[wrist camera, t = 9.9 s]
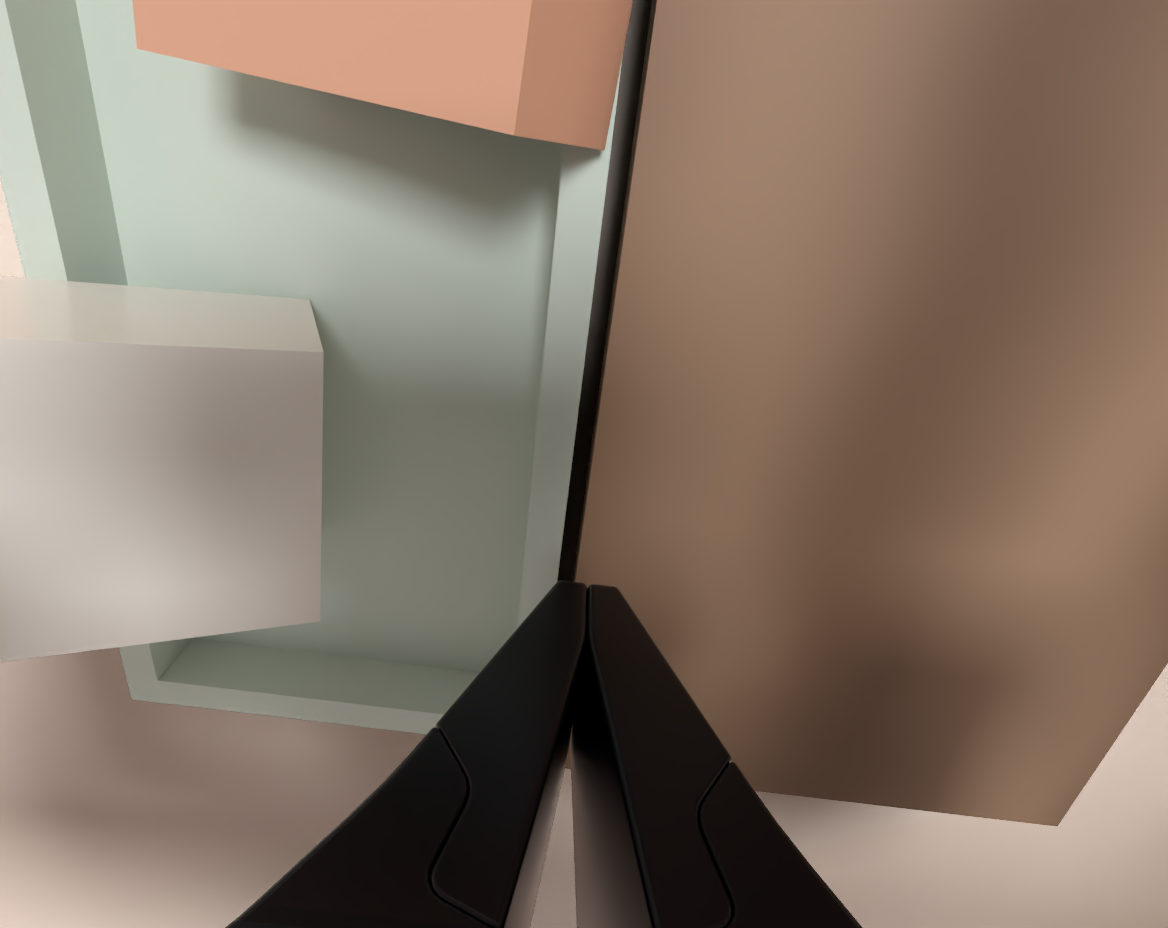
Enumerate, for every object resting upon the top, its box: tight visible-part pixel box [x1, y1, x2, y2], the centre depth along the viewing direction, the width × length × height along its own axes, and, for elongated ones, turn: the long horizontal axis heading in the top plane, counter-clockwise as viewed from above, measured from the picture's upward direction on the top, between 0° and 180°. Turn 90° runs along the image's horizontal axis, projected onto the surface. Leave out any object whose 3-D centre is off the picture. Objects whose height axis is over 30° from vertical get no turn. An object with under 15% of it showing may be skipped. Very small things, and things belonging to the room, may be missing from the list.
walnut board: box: [565, 0, 1168, 826], centre depth 9 cm, size 10×20×2 cm, turn 173°
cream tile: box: [0, 276, 324, 662], centre depth 9 cm, size 4×4×2 cm
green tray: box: [0, 0, 623, 734], centre depth 9 cm, size 8×20×2 cm, turn 173°
